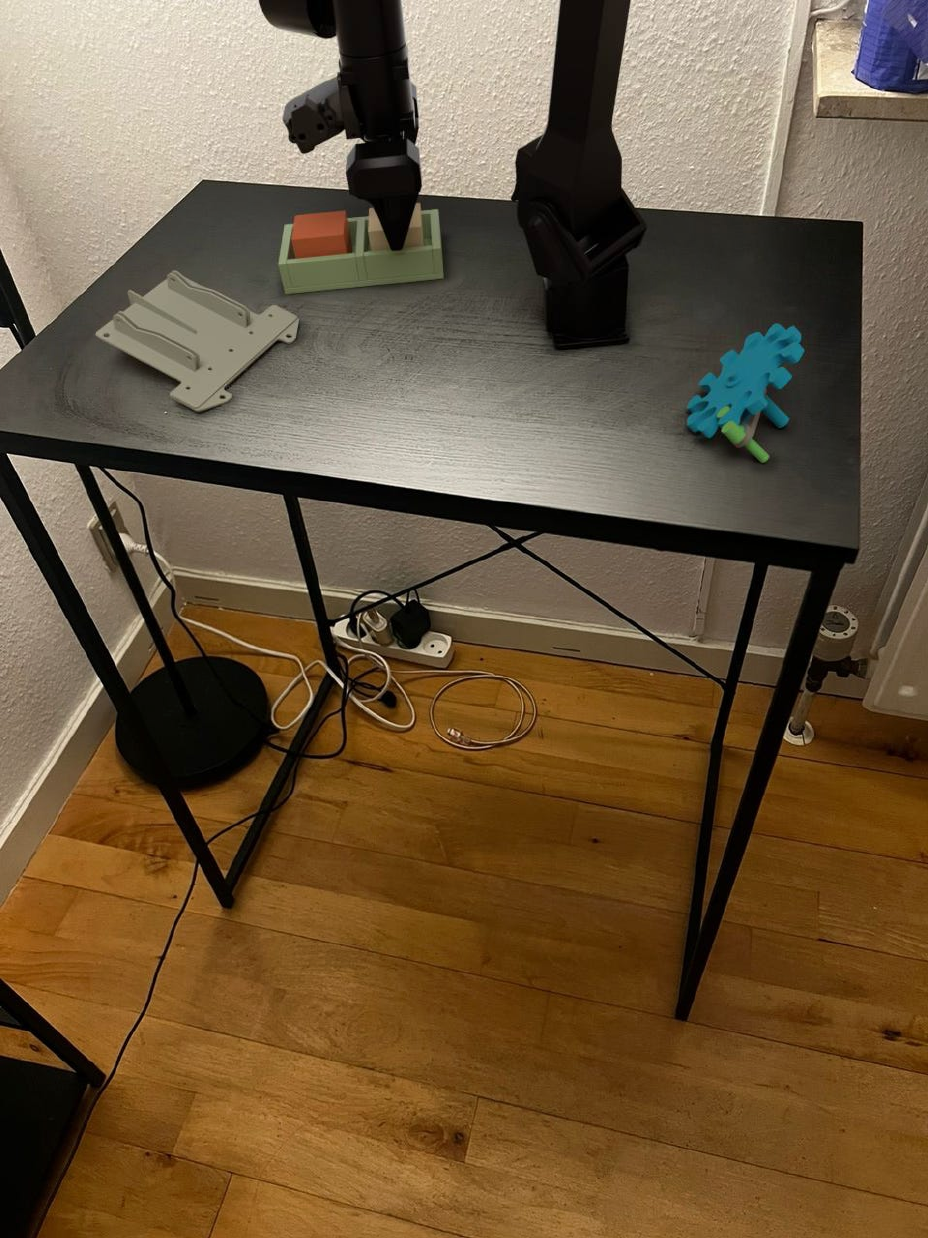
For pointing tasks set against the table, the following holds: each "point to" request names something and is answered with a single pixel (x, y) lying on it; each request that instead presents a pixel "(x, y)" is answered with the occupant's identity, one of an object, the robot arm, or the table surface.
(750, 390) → the gear
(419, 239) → the tan block
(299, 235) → the terracotta block
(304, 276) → the green divided tray
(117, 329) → the metal bracket
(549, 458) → the table surface
